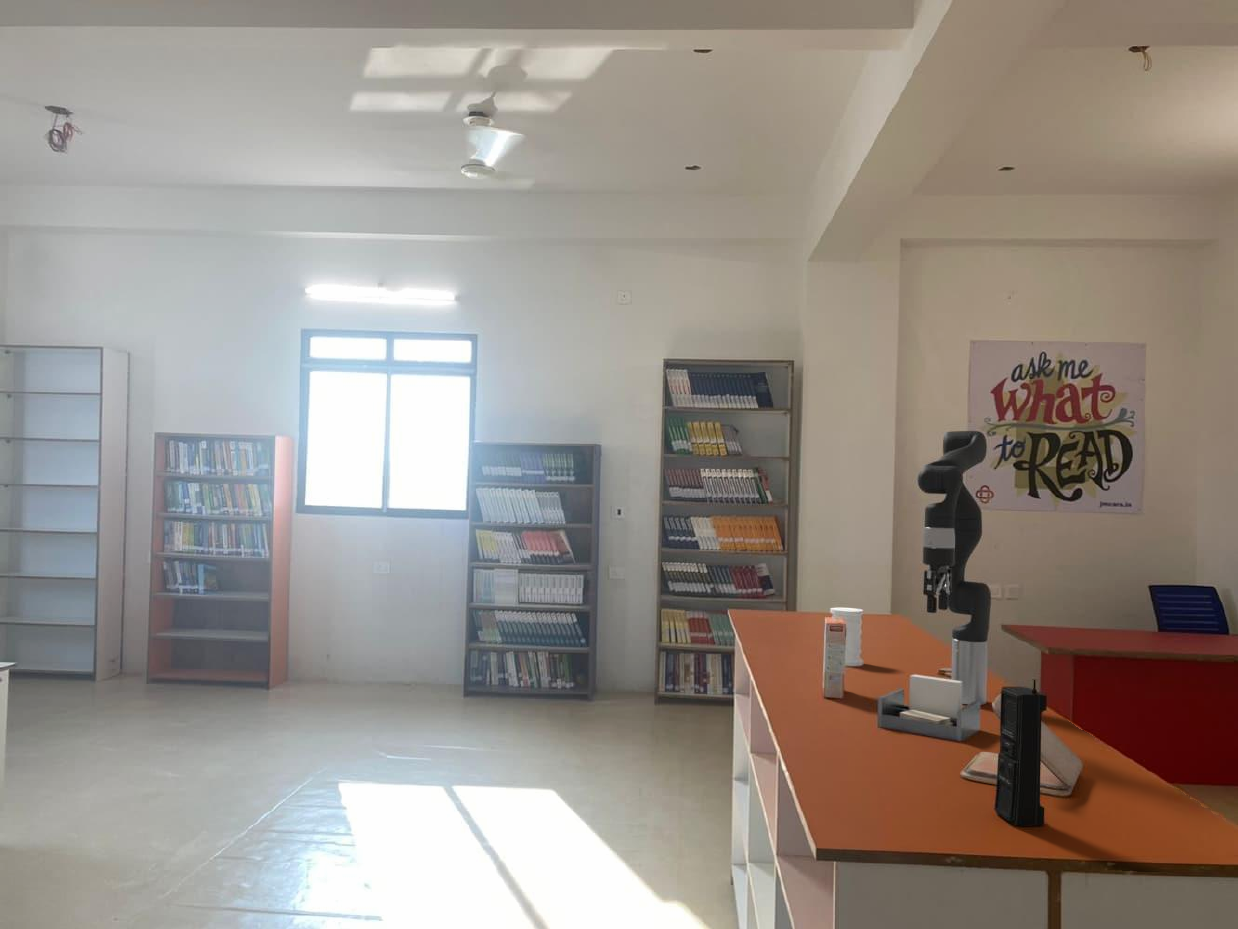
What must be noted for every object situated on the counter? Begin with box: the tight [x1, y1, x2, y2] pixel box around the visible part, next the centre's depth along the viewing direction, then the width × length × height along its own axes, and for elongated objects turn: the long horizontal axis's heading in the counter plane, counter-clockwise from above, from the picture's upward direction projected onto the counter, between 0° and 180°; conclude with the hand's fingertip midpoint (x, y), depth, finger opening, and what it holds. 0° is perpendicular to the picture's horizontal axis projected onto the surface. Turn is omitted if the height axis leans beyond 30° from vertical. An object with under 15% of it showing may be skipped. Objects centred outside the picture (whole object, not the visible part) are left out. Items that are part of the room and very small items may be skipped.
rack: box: [877, 688, 982, 742], centre depth 229 cm, size 15×20×7 cm
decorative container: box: [829, 606, 864, 667], centre depth 317 cm, size 12×12×18 cm
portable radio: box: [993, 679, 1048, 827], centre depth 166 cm, size 8×6×25 cm
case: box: [959, 693, 1084, 798], centre depth 191 cm, size 20×21×16 cm
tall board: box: [908, 674, 963, 718], centre depth 233 cm, size 3×12×12 cm, turn 53°
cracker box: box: [822, 616, 846, 700], centre depth 266 cm, size 14×6×21 cm, turn 168°
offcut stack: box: [900, 710, 953, 726], centre depth 227 cm, size 6×11×4 cm, turn 44°
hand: (937, 611), depth 234 cm, fingers open, 8 cm apart
